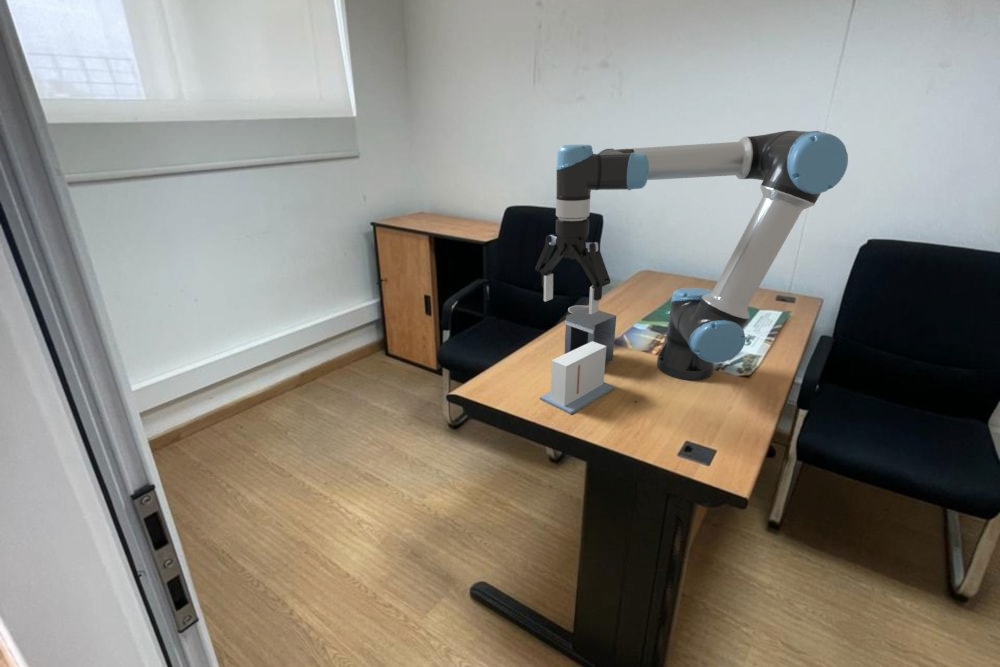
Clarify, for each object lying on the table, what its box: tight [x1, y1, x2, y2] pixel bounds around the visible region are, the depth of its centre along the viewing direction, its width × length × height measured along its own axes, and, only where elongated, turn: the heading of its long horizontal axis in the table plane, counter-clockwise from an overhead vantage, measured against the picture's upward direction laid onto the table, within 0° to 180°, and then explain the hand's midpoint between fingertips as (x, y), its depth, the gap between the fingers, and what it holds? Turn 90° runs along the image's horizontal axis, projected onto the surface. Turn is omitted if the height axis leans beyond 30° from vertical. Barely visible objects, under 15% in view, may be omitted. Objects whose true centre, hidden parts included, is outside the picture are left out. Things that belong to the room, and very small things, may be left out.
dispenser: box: [564, 307, 617, 365], centre depth 145 cm, size 10×10×14 cm
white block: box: [550, 341, 606, 406], centre depth 128 cm, size 4×16×11 cm, turn 133°
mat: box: [539, 381, 615, 415], centre depth 130 cm, size 10×18×1 cm, turn 133°
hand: (570, 306), depth 123 cm, fingers open, 13 cm apart
